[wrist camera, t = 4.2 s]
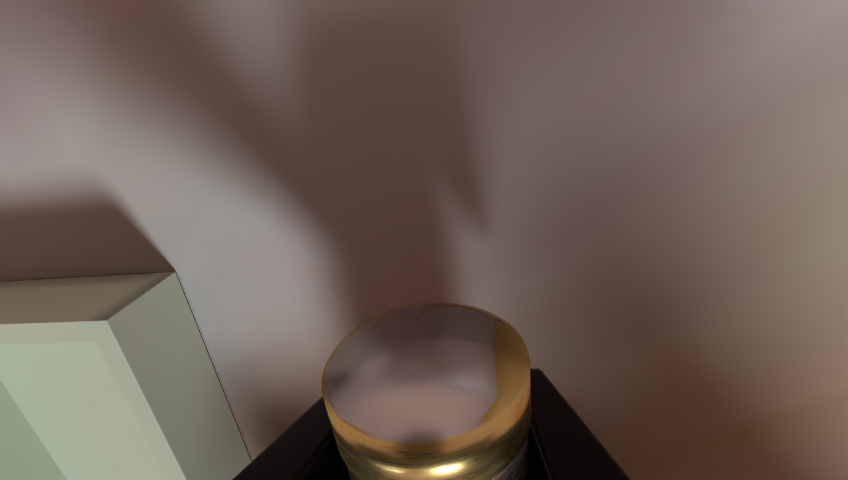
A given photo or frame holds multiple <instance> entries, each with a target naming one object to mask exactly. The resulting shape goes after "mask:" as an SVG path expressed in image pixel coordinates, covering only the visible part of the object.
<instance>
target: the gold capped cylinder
mask: <svg viewBox="0 0 848 480" xmlns="http://www.w3.org/2000/svg"><path fill="white" fill-rule="evenodd" d="M322 393H323V398H324V402H325V405H326V409H327V412H328V416H329V419H330V423H331V426H332V430H333V433H334V437H335V440H336V443H337V447H338V450H339V452H340V454H341V457H342V459H343V460H344V462H345V463H346V466H347V470H348V473H349V477H350V480H530V455H529V428H530V424H531V383H530V360H529V353H528V350H527V347H526V345H525V343H524V341H523V339H522V337H521V336H520V335H519V334H518V332H517V331H516V330H515V329H514V328H513V327H512V326H511V325H510V324H508V323H507V322H506V321H504V320H503V319H501V318H500V317H498V316H496V315H494V314H492V313H490V312H488V311H485V310H482V309H479V308H476V307H472V306H467V305H462V304H455V303H427V304H418V305H412V306H407V307H403V308H399V309H396V310H393V311H390V312H387V313H384V314H382V315H379V316H377V317H375V318H373V319H371V320H369V321H367V322H366V323H364V324H362V325H361V326H359V327H358V328H356V329H355V330H354V331H352V332H351V333H350V334H349V335H348V336H346V337H345V338H344V339H343V340H342V341H341V342H340V343H339V344H338V346H337V347H336V348H335V350H334V351H333V352H332V354H331V355H330V357H329V359H328V361H327V363H326V366H325V368H324V371H323V376H322Z"/></svg>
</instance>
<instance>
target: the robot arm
mask: <svg viewBox="0 0 848 480" xmlns="http://www.w3.org/2000/svg"><path fill="white" fill-rule="evenodd" d="M530 383H531V424H530V428H529V455H530V480H630V479H629V477H628V476H627V475H626V474H625V472H624V471H623V470H622V469H621V468H620V466H619V465H618V464H617V463H616V461H615V460H614V459H613V458H612V457H611V455H610V454H609V453H608V452H607V450H606V449H605V448H604V447H603V446H602V444H601V443H600V442H599V441H598V439H597V438H596V437H595V436H594V435H593V433H592V432H591V431H590V430H589V428H588V427H587V426H586V425H585V424H584V422H583V421H582V420H581V419H580V417H579V416H578V415H577V414H576V413H575V411H574V410H573V409H572V408H571V406H570V405H569V404H568V403H567V402H566V400H565V399H564V398H563V397H562V395H561V394H560V393H559V392H558V391H557V389H556V388H555V387H554V386H553V384H552V383H551V382H550V381H549V379H548V378H547V377H546V376H545V375H544V373H543V372H542V371H541V370H540V369H530ZM232 480H350V477H349V473H348V470H347V466H346V463H345V462H344V460H343V459H342V457H341V454H340V452H339V450H338V447H337V443H336V440H335V437H334V433H333V430H332V426H331V423H330V419H329V416H328V412H327V409H326V405H325V402H324V398H323V396H322V397H321V398H320V399H319V400H318V401H317V402H316V403H315V404H314V405H312V406H311V407H310V408H309V409H308V410H307V411H306V412H305V413H304V414H303V415H302V416H301V417H299V418H298V419H297V420H296V421H295V422H294V423H293V424H292V425H291V426H290V427H289V428H288V429H286V430H285V431H284V432H283V433H282V434H281V435H280V436H279V437H278V438H277V439H276V440H275V441H273V442H272V443H271V444H270V445H269V446H268V447H267V448H266V449H265V450H264V451H263V452H262V453H260V454H259V455H258V456H257V457H256V458H255V459H254V460H253V461H252V462H251V463H250V464H249V465H247V466H246V467H245V468H244V469H243V470H242V471H241V472H240V473H239V474H238V475H237V476H236V477H234V478H233V479H232Z"/></svg>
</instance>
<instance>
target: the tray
mask: <svg viewBox="0 0 848 480" xmlns="http://www.w3.org/2000/svg"><path fill="white" fill-rule="evenodd" d="M250 463H251V459H250V457H249V454H248V452H247V450H246V447H245V445H244V442H243V440H242V437H241V435H240V432H239V430H238V427H237V425H236V422H235V420H234V417H233V415H232V412H231V410H230V407H229V405H228V402H227V400H226V397H225V395H224V392H223V390H222V387H221V385H220V382H219V380H218V377H217V375H216V372H215V370H214V367H213V365H212V362H211V360H210V357H209V355H208V352H207V350H206V347H205V345H204V342H203V340H202V337H201V335H200V332H199V330H198V327H197V325H196V322H195V320H194V317H193V315H192V312H191V310H190V307H189V305H188V302H187V300H186V297H185V295H184V292H183V290H182V288H181V285H180V283H179V280H178V278H177V275H176V273H175V272H166V273H148V274H129V275H111V276H93V277H75V278H57V279H38V280H20V281H2V282H0V480H232V479H233V478H234V477H236V476H237V475H238V474H239V473H240V472H241V471H242V470H243V469H244V468H245V467H246V466H247V465H249V464H250Z"/></svg>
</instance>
